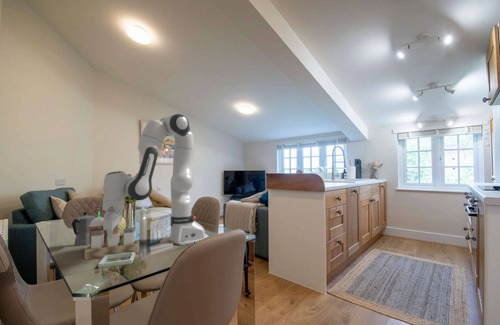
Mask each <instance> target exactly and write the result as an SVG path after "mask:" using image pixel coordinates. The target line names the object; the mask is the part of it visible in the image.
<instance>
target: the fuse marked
mask: <svg viewBox="0 0 500 325" xmlns="http://www.w3.org/2000/svg"><path fill="white" fill-rule="evenodd" d="M120 232H121V229H120V228H118V229H113V237H112V238H111V239H108V238H107V244H108V247H115V246H119V245H120V242H121V241H120V238H121V237H120Z"/></svg>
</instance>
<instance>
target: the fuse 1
mask: <svg viewBox="0 0 500 325" xmlns="http://www.w3.org/2000/svg"><path fill="white" fill-rule="evenodd" d="M103 247H104V230H97V231H93V232H92V233H91V249H96V248H103Z"/></svg>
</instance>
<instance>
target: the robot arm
mask: <svg viewBox="0 0 500 325" xmlns="http://www.w3.org/2000/svg"><path fill="white" fill-rule="evenodd" d="M190 129H191V127H190V122H189V119H188V118H187V116H185V115H184V114H181V113H175V114H170V115H168V116H166V117H163V118H161V119H160V120H159V119H150V120H149V121H147V123H146V124H145V126H144V128H143V130H142V131H141V135H140V138H139V139H138V140H139V141H138V145H137V149H138V151H139V153H140V155H141V163H140V165H139V169H138V172H137V175H136V177H134V176H132V175H130V174H127V173H126V172H124V171H122V170H121V171H120V170H119V171H112V172H108V173H107V174H106V175H104V179H103V186H102V187H103V188H102V191H103V197H102V211H105V212H104V214H103V217H104V220H103V230H107V235H108V237H107V240H108V239H111V238H112V237H113V229H119V224H120V223H121V222H122V220H123V213H124V209H125V205H126V201H125V198H126V197H129V198H131V199H133V200H135V201H143V200H146V199H147V198H148V197H149V196H151V194H152V191H153V184H152V182H153V181H152V179H153V175H154V172H155V167H156V164H157V160H158V157H159V153H160V151H161V149H162V146H163V143H164V140H165V137H170V136H173V138H174V149H173V150H174V151H173V159H172V176H171V178H170V198H171V199H170V200H171V201H170V202H171V208H170V209H171V212H170V213H171V215H170V222H169V225H170V233H169V238H168V240H169V241H171V242H172V244H174V245H178V246H179V245H180V246H185V245H190V244H195V243H194V242H197V241H199V240H202V239H204V238H207V237H209V238H210V236H209V234H207V233H206V232H205V231H206V230H205V228H204V226H203V225H201V224H200V223H198V222H197V221H196V220H197V217H196V216H195V215H193V214H192V198H191V189H192V186H193V184H194V165H193V164H194V154H195V153H194V152H195V151H194V150H195V139H194V138H195V137H194V133H193V132H191V131H190ZM197 243H198V242H197Z"/></svg>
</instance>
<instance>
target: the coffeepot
mask: <svg viewBox="0 0 500 325" xmlns="http://www.w3.org/2000/svg"><path fill="white" fill-rule="evenodd" d="M94 218H96V217H95V215H89V214H88V215H87V211H83V212H82V215H80V216H77V217H75V218H74V219H73V220H72V222H71V226H72V230H73V234H74V235H75V239H74V243H73V244H74V245H73V247H82V246H90V236H89V225H90V223H91V221H92V220H93V219H94Z"/></svg>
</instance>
